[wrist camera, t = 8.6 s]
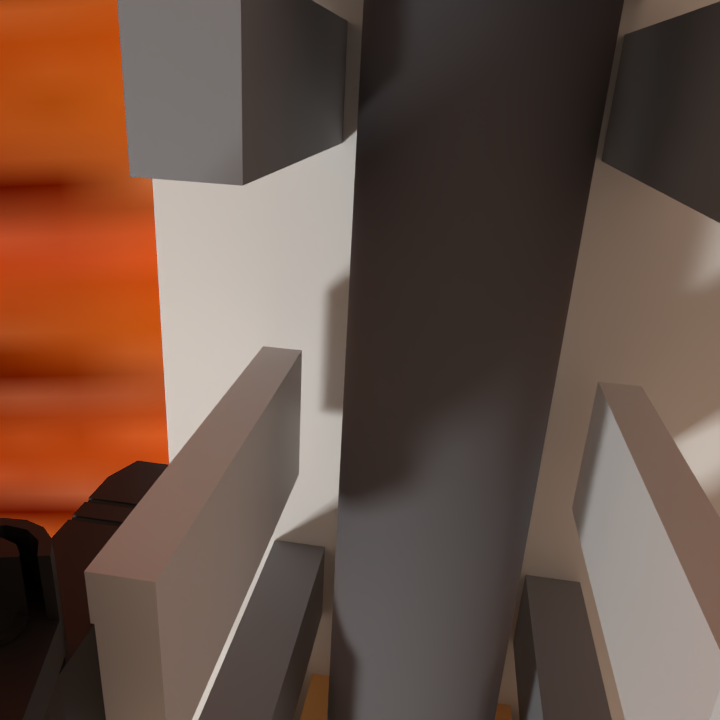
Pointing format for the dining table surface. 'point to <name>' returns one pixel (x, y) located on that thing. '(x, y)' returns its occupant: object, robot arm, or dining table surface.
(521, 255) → the rod with end blocks
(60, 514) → the dining table surface
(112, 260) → the dining table surface
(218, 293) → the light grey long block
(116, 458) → the dining table surface
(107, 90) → the dining table surface
